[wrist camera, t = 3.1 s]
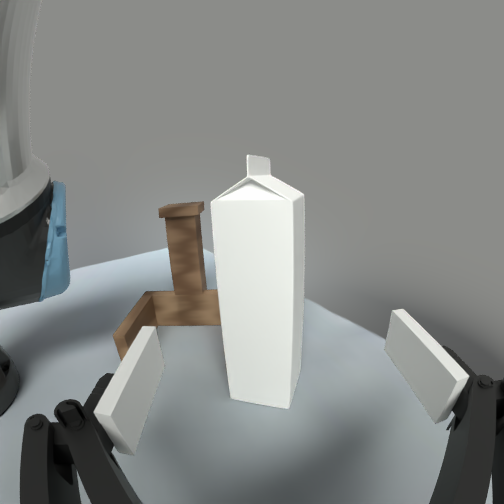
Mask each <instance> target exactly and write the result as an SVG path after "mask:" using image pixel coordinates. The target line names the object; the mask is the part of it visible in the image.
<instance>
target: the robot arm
mask: <svg viewBox="0 0 504 504" xmlns="http://www.w3.org/2000/svg"><path fill="white" fill-rule="evenodd" d="M41 4H42V0H0V310H1V309H6V308H10V307H15V306H20V305H24V304H29V303H34V302H41V301H43V300H44V299H46V298H49V297H52V296H55V295H58V294H61V293H63V292H64V291H65V290H66V289H67V288H68V286H69V284H70V269H69V258H68V247H67V234H66V190H65V188H66V187H65V184H64V183H63V182H57V181H56V182H55V181H53V182H52V183H51V180H50V172H49V168H48V165H47V164H46V163H45V162H44V161H42V160H41V159H39V158H37V157H35V156H34V155H33V153H32V144H31V127H30V81H31V66H32V56H33V48H34V40H35V34H36V27H37V22H38V17H39V12H40V8H41ZM384 350H385V352H386V353H387V354H388V356H389V357H390V359H391V360H392V361H393V363H394V364H395V366H396V367H397V368H398V370H399V371H400V373H401V374H402V376H403V377H404V379H405V380H406V381H407V383H408V384H409V386H410V387H411V389H412V390H413V392H414V393H415V395H416V396H417V398H418V399H419V401H420V402H421V404H422V405H423V407H424V408H425V410H426V411H427V413H428V414H429V416H430V417H431V419H432V420H433V422H434V423H435V424H437V423H439V422H441V421H444V420H446V419H447V418H448V416H449V415H450V413H451V411H453V412H454V414H455V416H454V417H453V419H452V421H451V422H450V424H449V426H448V427H447V429H446V430H449V428H450V427H451V430H450V435H449V440H448V444H447V448H446V452H445V456H444V460H443V463H442V467H441V470H440V474H439V477H438V480H437V483H436V486H435V489H434V492H433V495H432V497H431V500H430V503H429V504H485V502H486V498H487V493H488V489H489V483H490V478H491V472H492V491H493V504H504V378H503V380H498V381H493V379H492V378H490V377H489V376H486V375H479V376H477V375H476V374H475V373H474V372H473V371H472V370H471V369H470V368H469V367H468V366H467V365H466V364H465V363H464V362H463V361H462V360H461V359H460V358H459V357H458V356H457V354H456V353H454V351H453V350H451V349H449V348H448V347H446V346H440V345H439V344H438V343H437V342H436V341H435V340H434V339H433V338H432V337H431V336H430V335H429V334H428V333H427V332H426V331H425V330H424V329H423V328H422V327H421V326H420V325H419V324H418V323H417V322H416V321H415V320H414V319H413V318H412V317H411V316H410V315H409V314H408V313H407V312H406V311H405V310H404V309H399V310H393V311H392V314H391V319H390V325H389V330H388V335H387V339H386V343H385V348H384ZM164 369H165V363H164V359H163V355H162V351H161V347H160V343H159V339H158V335H157V330H156V326H142V328H141V330H140V331H139V333H138V335H137V336H136V338H135V340H134V341H133V343H132V345H131V346H130V348H129V350H128V351H127V353H126V355H125V357H124V358H123V360H122V362H121V363H120V365H119V367H118V369H117V370H116V372H115V374H111V373H106V374H105V375H104V376H103V377H101V378H100V379H99V381H98V382H97V384H96V386H95V388H94V389H93V391H92V394H90V396H89V397H88V399H87V401H86V403H85V404H84V406H83V407H82V405H81V404H80V402H78V401H77V400H72V399H69V400H64V401H62V402H60V403H59V404H58V405H57V406H56V408H55V410H54V415H55V417H56V418H57V420H58V421H59V422H49V420H48V419H47V418H46V416H44V415H42V414H35V415H32V416H31V417H29V418H28V419H27V420H26V423H25V426H24V434H23V442H22V452H21V467H20V504H81V500H80V493H79V487H78V479H77V471H78V474H79V476H80V479H81V481H82V483H83V486H84V488H85V490H86V493H87V495H88V497H89V499H90V501H91V503H92V504H142V502H141V501H140V499H139V498H138V496H137V495H136V493H135V491H134V490H133V488H132V487H131V485H130V483H129V482H128V480H127V478H126V477H125V475H124V473H123V471H122V470H121V468H120V466H119V464H118V462H117V461H116V459H115V457H114V455H113V454H112V452H111V451H112V449H113V446H115V448H116V449H117V451H118V452H119V453H123V454H128V455H133V456H135V452H136V449H137V446H138V443H139V440H140V437H141V434H142V431H143V428H144V425H145V422H146V419H147V416H148V413H149V410H150V408H151V405H152V402H153V399H154V396H155V393H156V391H157V388H158V385H159V382H160V379H161V377H162V374H163V371H164ZM18 387H19V374H18V371H17V369H16V367H15V365H14V363H13V361H12V359H11V358H10V356H9V355H8V354H7V352H6V351H5V350H4V349H3V348H2V346H1V345H0V415H1V414H2V413H3V412H4V411H5V410H6V409H7V408H8V406H9V405H10V404H11V402H12V401H13V399H14V397H15V395H16V393H17V390H18ZM76 469H77V470H76Z"/></svg>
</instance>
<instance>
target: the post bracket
mask: <svg viewBox="0 0 504 504" xmlns="http://www.w3.org/2000/svg"><path fill="white" fill-rule="evenodd" d="M203 210H204V202H191V203H178V204H169V205H167V206H164V207H161V208H159V218H165V221H166V232H167V241H168V249H169V257H170V265H171V272H172V279H173V286H174V291H146V292H145V293H144V294H143V296H142V297H141V298H140V300H139V301H138V302H137V303H136V305H135V306H134V307H133V309H132V310H131V311H130V313H129V314H128V315H127V317H126V318H125V319H124V321H123V322H122V323H121V325H120V326H119V327H118V329H117V330H116V332H115V333H114V334H113V337H114V341H115V344H116V347H117V350H118V353H119V356H120V359H121V362H122V360H123V358H124V357H125V355H126V353H127V351H128V350H129V348H130V346H131V345H132V343H133V341H134V340H135V338H136V336H137V335H138V333H139V331H140V330H141V328H142V326H156V329H157V327H158V325H159V326H194V325H221V318H220V308H219V299H218V289H216V290H207V286H206V276H205V267H204V257H203V246H202V235H201V223H200V213H201V212H202V211H203ZM223 346H224V344H223ZM224 354H225V353H224ZM225 362H226V361H225ZM226 370H227V368H226Z"/></svg>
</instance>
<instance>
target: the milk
mask: <svg viewBox="0 0 504 504" xmlns="http://www.w3.org/2000/svg"><path fill="white" fill-rule="evenodd" d="M304 203H305V199H304V194H303V193H301V192H299V191H298V190H296V189H294V188H292V187H291V186H289V185H287V184H286V183H284V182H282V181H280V180H278V179H277V178H275V177H273V176H271V171H270V159H269V158H265V157H260V156H254V155H248V156H247V177H246V178H244V179H243V180H241V181H240V182H238V183H237V184H236V185H234V186H233V187H231V188H230V189H228V190H227V191H225V192H224V193H223V194H221V195H220V196H218V197H217V198H216V199H214V200H213V201H211V216H212V217H211V218H212V231H213V244H214V256H215V267H216V278H217V289H218V299H219V308H220V318H221V327H222V336H223V344H224V353H225V361H226V368H227V376H228V384H229V391H230V398H231V399H235V400H240V401H244V402H249V403H255V404H260V405H266V406H272V407H278V408H284V409H289V408H290V405H291V401H292V398H293V395H294V392H295V388H296V385H297V381H298V378H299V374H300V369H301V354H302V335H303V312H304V277H305V205H304Z"/></svg>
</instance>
